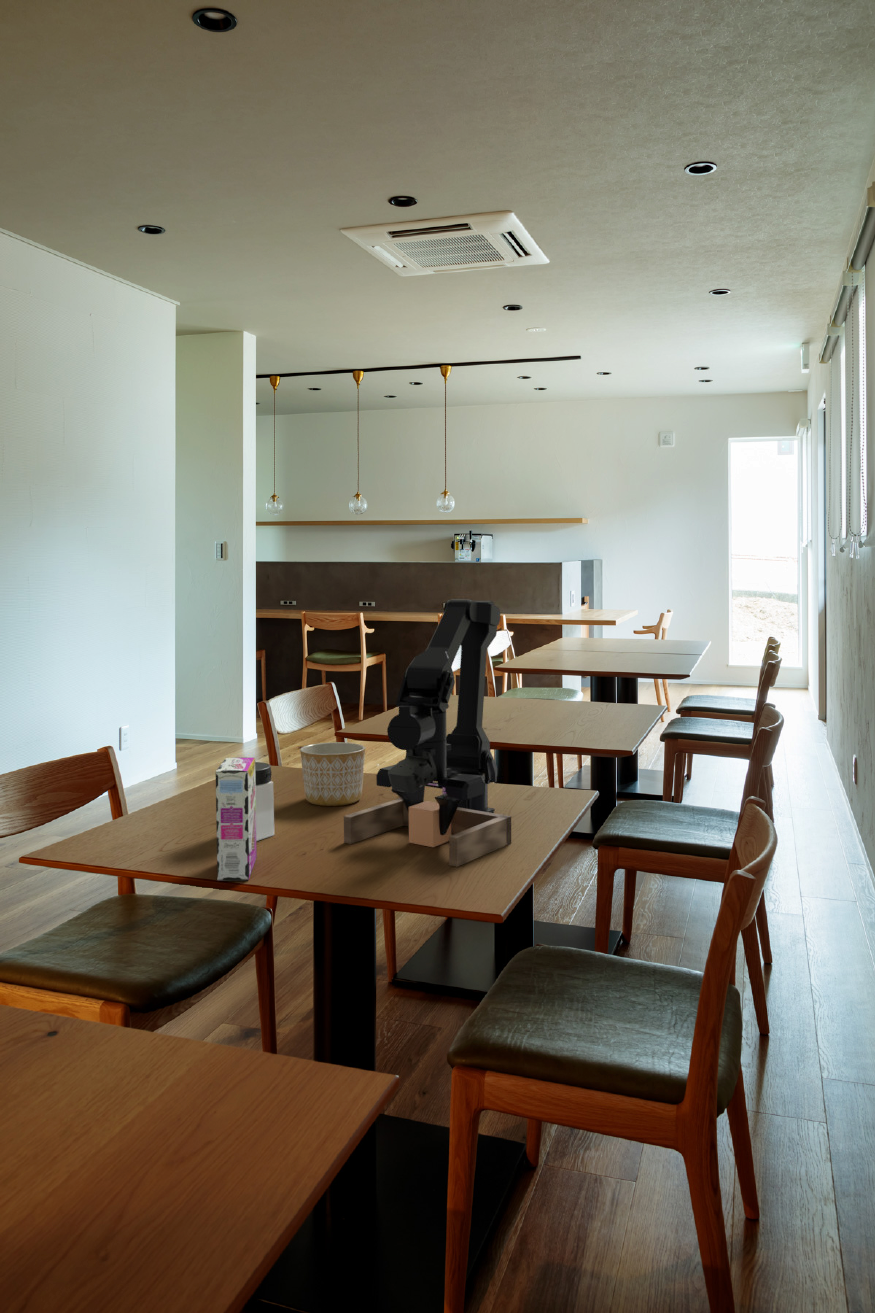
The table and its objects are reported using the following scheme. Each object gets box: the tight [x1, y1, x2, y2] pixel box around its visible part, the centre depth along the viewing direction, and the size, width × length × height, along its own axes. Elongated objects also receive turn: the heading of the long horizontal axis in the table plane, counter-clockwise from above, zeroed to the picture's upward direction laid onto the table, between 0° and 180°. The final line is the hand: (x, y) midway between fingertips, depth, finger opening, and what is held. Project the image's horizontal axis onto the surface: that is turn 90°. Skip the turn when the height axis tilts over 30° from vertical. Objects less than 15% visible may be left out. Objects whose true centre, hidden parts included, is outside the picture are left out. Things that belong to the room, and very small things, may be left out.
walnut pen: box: [343, 797, 512, 868], centre depth 160 cm, size 16×23×4 cm
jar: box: [255, 761, 275, 842], centre depth 165 cm, size 9×8×12 cm
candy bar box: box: [214, 756, 258, 882], centre depth 146 cm, size 11×5×16 cm, turn 5°
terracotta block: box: [408, 800, 451, 848], centre depth 160 cm, size 5×5×6 cm
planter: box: [299, 741, 366, 807], centre depth 189 cm, size 13×13×10 cm
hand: (430, 832), depth 160 cm, fingers closed on terracotta block, 5 cm apart
